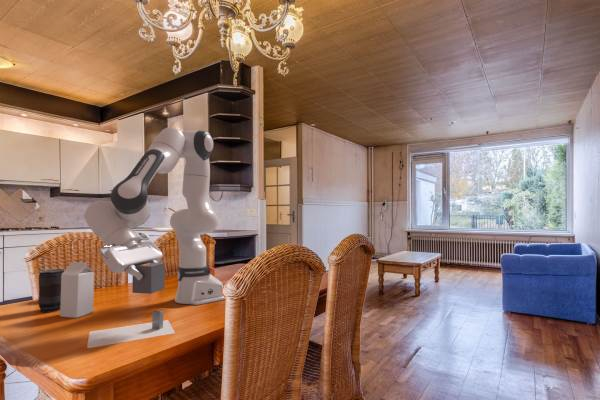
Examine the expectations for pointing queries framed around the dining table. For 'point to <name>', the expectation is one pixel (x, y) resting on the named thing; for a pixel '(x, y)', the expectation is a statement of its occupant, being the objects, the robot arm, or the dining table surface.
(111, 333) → the workboard
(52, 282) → the camera lens
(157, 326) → the d shaft
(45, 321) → the dining table surface
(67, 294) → the milk carton
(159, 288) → the block
